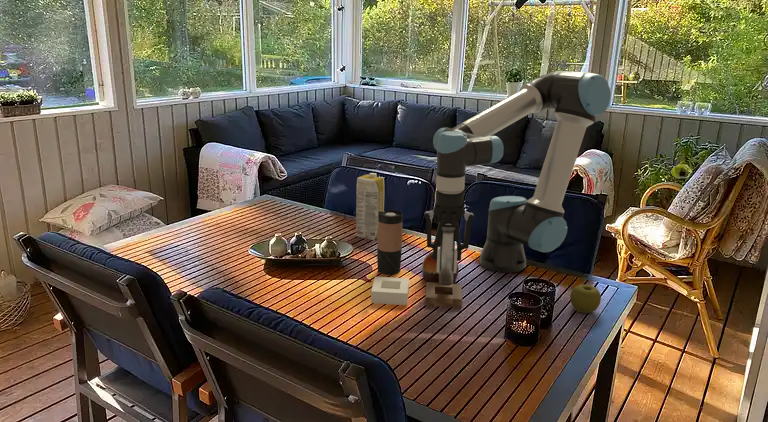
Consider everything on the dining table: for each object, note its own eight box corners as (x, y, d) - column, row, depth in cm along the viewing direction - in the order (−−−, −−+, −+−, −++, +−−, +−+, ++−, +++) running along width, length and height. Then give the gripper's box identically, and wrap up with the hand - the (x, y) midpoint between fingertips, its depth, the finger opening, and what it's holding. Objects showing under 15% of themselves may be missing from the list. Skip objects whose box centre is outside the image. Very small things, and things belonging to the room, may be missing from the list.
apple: (595, 320, 151) (599, 296, 149) (565, 312, 155) (568, 288, 153) (601, 309, 157) (605, 286, 155) (572, 302, 161) (575, 279, 159)
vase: (433, 293, 165) (436, 243, 160) (414, 279, 174) (416, 232, 170) (464, 286, 170) (468, 238, 165) (444, 273, 179) (447, 227, 174)
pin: (454, 279, 160) (457, 222, 155) (454, 286, 156) (457, 228, 150) (437, 278, 160) (439, 221, 155) (437, 285, 156) (439, 227, 151)
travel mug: (398, 279, 174) (400, 217, 168) (374, 276, 175) (375, 215, 169) (402, 269, 181) (404, 210, 175) (379, 267, 182) (380, 208, 176)
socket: (408, 292, 165) (409, 278, 163) (406, 308, 155) (407, 293, 154) (374, 290, 165) (375, 276, 164) (370, 306, 156) (371, 291, 154)
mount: (460, 295, 164) (460, 284, 163) (461, 311, 154) (462, 299, 153) (425, 293, 165) (426, 282, 164) (425, 308, 155) (425, 297, 154)
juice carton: (385, 236, 211) (387, 173, 204) (374, 241, 205) (375, 177, 198) (365, 231, 216) (366, 170, 209) (353, 236, 209) (353, 174, 202)
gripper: (481, 187, 153) (476, 266, 160) (418, 185, 154) (416, 264, 161) (483, 195, 145) (478, 277, 153) (417, 193, 147) (415, 274, 154)
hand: (446, 270), depth 157 cm, fingers closed on pin, 4 cm apart
